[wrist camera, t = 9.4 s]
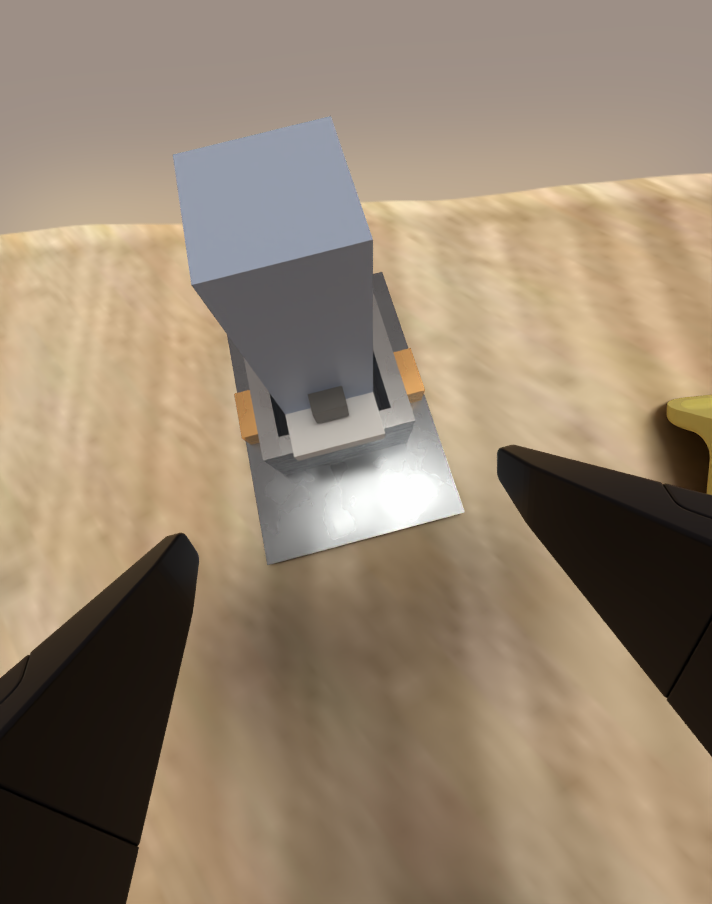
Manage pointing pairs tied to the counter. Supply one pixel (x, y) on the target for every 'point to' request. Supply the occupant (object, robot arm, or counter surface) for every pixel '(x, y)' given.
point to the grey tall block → (288, 274)
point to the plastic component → (694, 421)
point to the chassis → (348, 457)
